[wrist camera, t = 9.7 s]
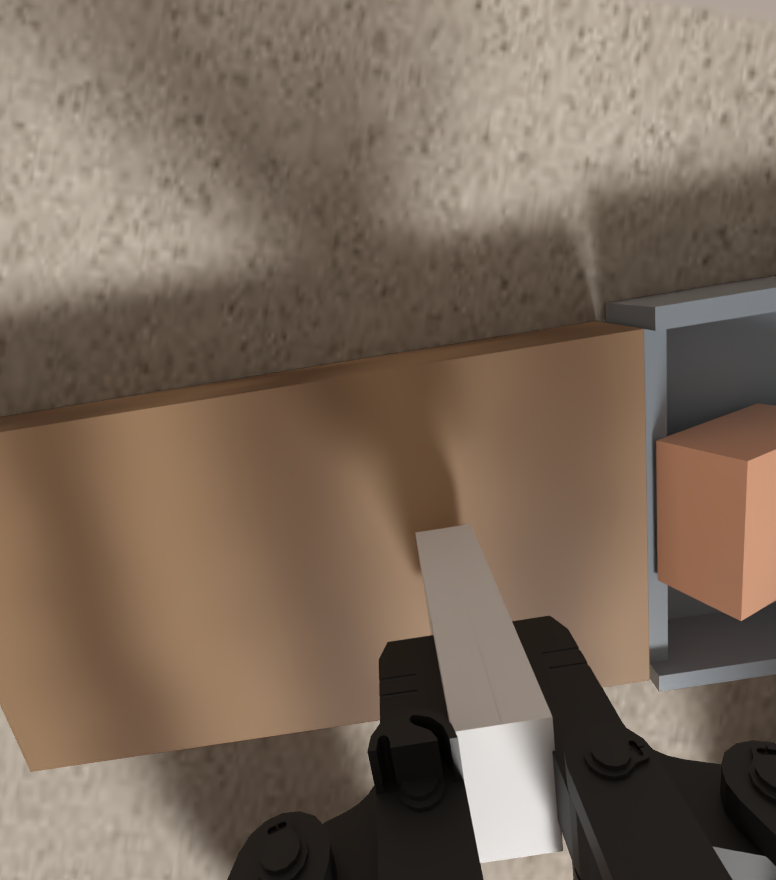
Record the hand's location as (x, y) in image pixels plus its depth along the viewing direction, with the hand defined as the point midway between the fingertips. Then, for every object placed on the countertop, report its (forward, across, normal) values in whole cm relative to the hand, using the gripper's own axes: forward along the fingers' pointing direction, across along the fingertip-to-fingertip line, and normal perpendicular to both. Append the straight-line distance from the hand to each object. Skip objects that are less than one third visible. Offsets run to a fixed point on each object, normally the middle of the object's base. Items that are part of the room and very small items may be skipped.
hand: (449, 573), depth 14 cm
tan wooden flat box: (+4, -4, 0) cm, 6 cm away
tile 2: (+2, +8, 0) cm, 9 cm away
